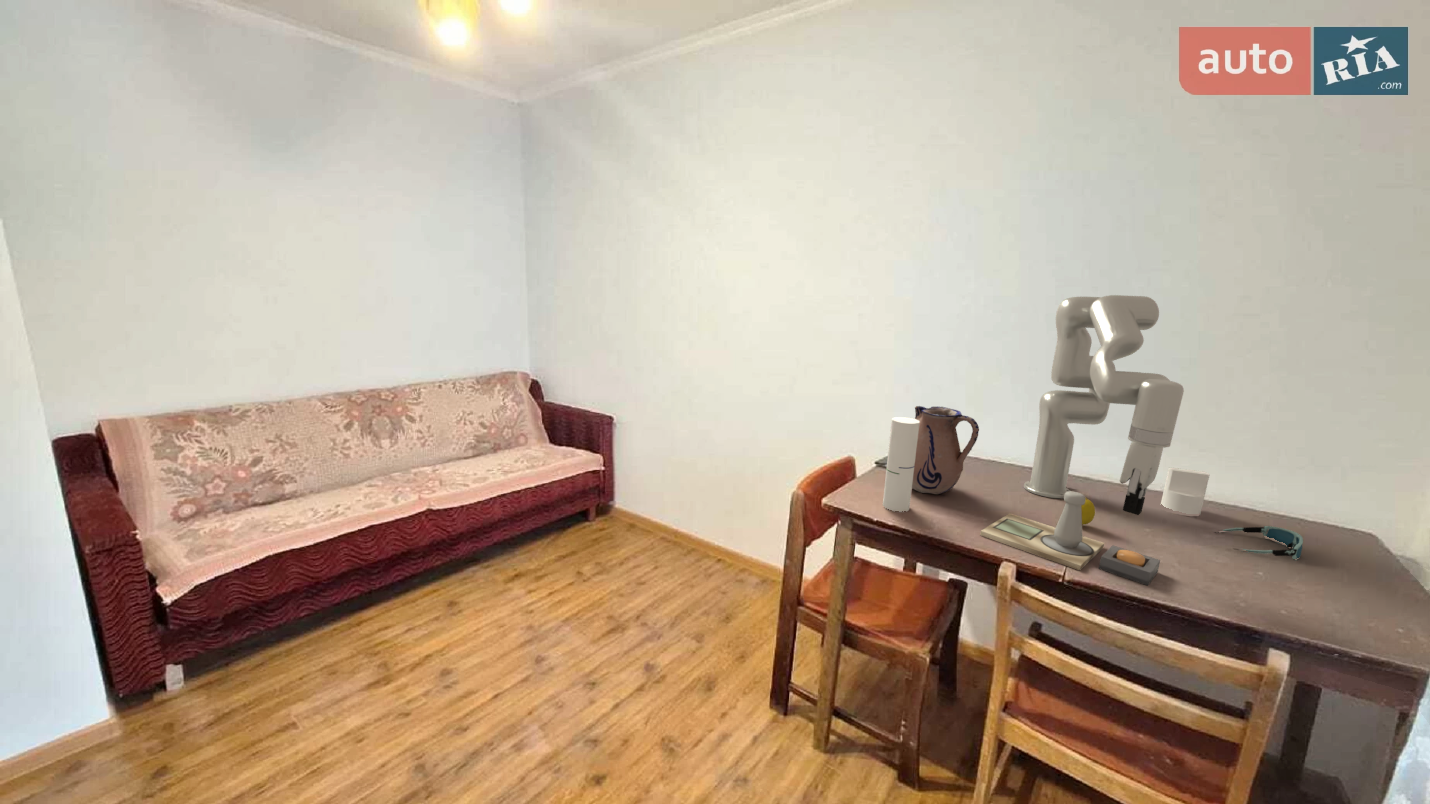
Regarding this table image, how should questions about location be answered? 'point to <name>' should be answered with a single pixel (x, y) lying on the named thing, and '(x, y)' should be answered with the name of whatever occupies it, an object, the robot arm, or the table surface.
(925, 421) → the ceramic pitcher
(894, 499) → the cylindrical container
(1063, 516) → the salt shaker
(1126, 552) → the button
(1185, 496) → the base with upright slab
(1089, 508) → the lemon
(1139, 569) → the button housing
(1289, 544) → the sunglasses
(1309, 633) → the table surface
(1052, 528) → the picture board
